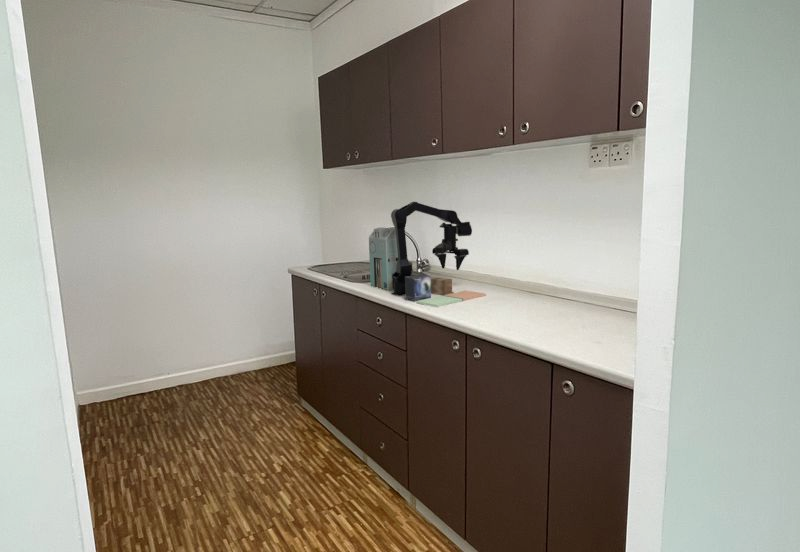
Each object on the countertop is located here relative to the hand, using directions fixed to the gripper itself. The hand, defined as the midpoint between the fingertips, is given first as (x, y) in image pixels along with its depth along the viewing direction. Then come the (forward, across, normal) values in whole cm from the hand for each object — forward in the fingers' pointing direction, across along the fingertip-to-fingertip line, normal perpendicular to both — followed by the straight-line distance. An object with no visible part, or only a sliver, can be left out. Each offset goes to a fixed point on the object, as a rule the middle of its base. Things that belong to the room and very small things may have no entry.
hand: (450, 269), depth 250 cm
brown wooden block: (+10, +1, -10) cm, 14 cm away
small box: (+10, +4, -26) cm, 28 cm away
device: (+10, -30, -16) cm, 36 cm away
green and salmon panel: (+10, +16, -17) cm, 25 cm away
